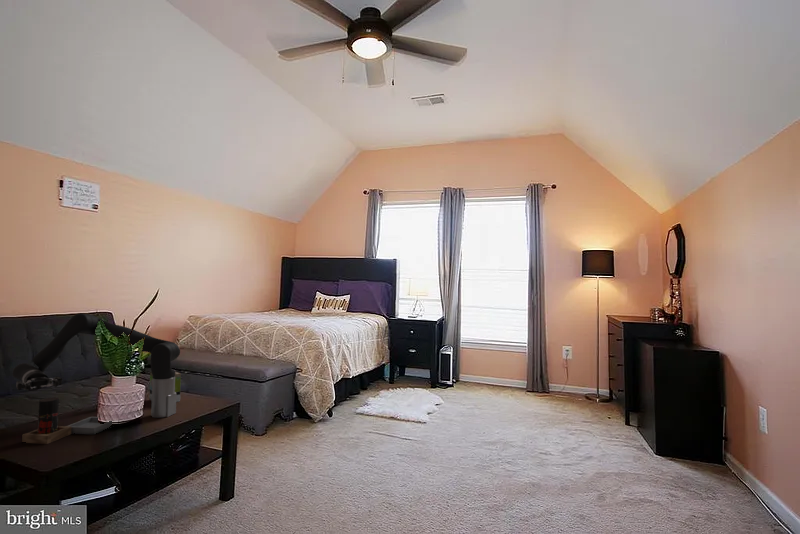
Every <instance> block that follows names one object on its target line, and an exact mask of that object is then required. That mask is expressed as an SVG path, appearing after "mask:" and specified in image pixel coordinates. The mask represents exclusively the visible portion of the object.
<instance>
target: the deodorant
mask: <svg viewBox="0 0 800 534" xmlns="http://www.w3.org/2000/svg"><path fill="white" fill-rule="evenodd" d="M59 403H60V399H59V397H56V396H55V397H46V398H42V399H40V400H39V401H38V416H37V417H38V418H37V421H38V422H37V429H38V434H50V433H53V432H55V431H57V428H58V426H59V425H58V424H59V405H60V404H59Z"/></svg>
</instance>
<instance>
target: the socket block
mask: <svg viewBox="0 0 800 534" xmlns="http://www.w3.org/2000/svg"><path fill="white" fill-rule="evenodd" d="M71 428H72V427H70V426H68V425H62V426H61V425H58V428H57V431H55V432H53V433H50V434H38V428H37V429H34V430H31V431H29V432H26V433H23V434H22V436H21V437H22V438H21V442H26V443H25V444H41V445H48V444H50V443H53V442H56V441H58V440H60V439H62V438H65V437H67V436H70V435H72V433H71Z"/></svg>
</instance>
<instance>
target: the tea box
mask: <svg viewBox="0 0 800 534" xmlns="http://www.w3.org/2000/svg"><path fill="white" fill-rule="evenodd" d="M181 374H182V373H180V372H178V371H175V393H177V397H176V403H178V402H180V401H181V382H182V380H181V379H182V375H181ZM152 382H153V375H152V372H151V371H150V373H149V397H148V398H149V400H150V401H152Z"/></svg>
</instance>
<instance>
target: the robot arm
mask: <svg viewBox="0 0 800 534" xmlns="http://www.w3.org/2000/svg"><path fill="white" fill-rule="evenodd" d="M100 320H102V321H103V322H104V324H105V326H106V328H107V329H108V330H109V331H110V332H111V333H112V334H113V335H114V336H116V337H119V336H120V335H121V334H122V333H123V332H124V333H125V334H126V335H129V334H130V333H131V331H132V329H133V328H129V327H127V326H122V325H120V324H115V323H110V322H108V321H106V320H103V319H102V318H100V317H98V316H95V315H93V314H89V313H77V314H75V315H73V316H72V317H71V318H69V320H68V321H67V322H66V323H65V325H64V326H63V327H62V329H60V330H59V332H58V333H57V334H56V335H55V337H54V338H53V339H52V340H51V341H50V342H49V343H48V344H47V345H46V346H45V347H43V348H42V349H41V350H40V351H39V352H37V354H36V355H34V356H33V358H32V362H33V364H34V365H36V366H37V367H38V368H37V367H36V366H33V365H32V364H29V363H27V362H22V363H20V364H18V365H16V366H15V367H14V368H13V370H12V377H13V378H15V379H17V381H16V389H17V391H21V390H22V389H23V390H27V391H31V390H32V391H38V390H41V389H43V388H44V387H48V388H49V387H51V386H53V387H54V388H56V387H58V386H61V385H62V384H63V378H62V377H60V376H55V377H54V378H53V377H48V375H47V374H46V373H45V371H46V370H47V368H48V367H49V366H50V365H51V364H52V363H53V362H55V361H56V359H58V358H59V357H60V356H61V355H62V353H63V352H64V350H65V348H66V345H67V344H68V342H69V341H70V340H71V339H73V338H74V337H75V336H77V335H78V334H83V335H84V334H85V335H90V336H96V334H95V329H96V327H97V323H98V321H100ZM96 337H97V336H96ZM144 337H145V340H144V345H143V350H142V351H141V352H145V353H150V372H152V375H153V382H152V400H151V406H150V407H151V411H150V412H151V413H150V416H152V418H156V419H157V418H168V417H171V416H173V415H175V414H176V413H177V402H176V397H177V393H175V372H176V370H175V369H173V368H172V365H171V363H172V362H173V361H174V360H176V359H178V357H180V353H181V349H180V347H179V345H178V344H177V343H175V342H172V341H170V340H169V341H168V340H165V339H161V338H157V337H153V336H151V335H148V334H147V333H143V332H140V331H137V330H135V329H133V331H132V333H131V335H130V343H131V344H132V345H134V344H135V343H137V342H138V341H139V340H141V339H142V338H143V339H144Z"/></svg>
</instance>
